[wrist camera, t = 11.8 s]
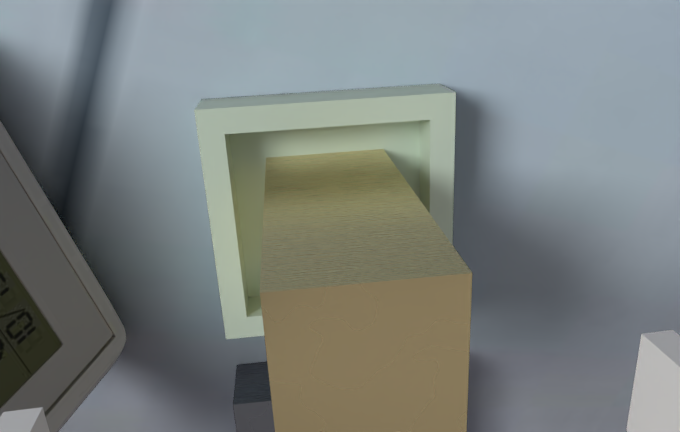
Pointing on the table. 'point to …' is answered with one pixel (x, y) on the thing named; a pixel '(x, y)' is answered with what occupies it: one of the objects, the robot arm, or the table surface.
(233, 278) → the tray
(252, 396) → the grey slotted holder
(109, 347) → the digital clock
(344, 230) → the wooden block
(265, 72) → the table surface
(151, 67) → the table surface
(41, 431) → the robot arm
